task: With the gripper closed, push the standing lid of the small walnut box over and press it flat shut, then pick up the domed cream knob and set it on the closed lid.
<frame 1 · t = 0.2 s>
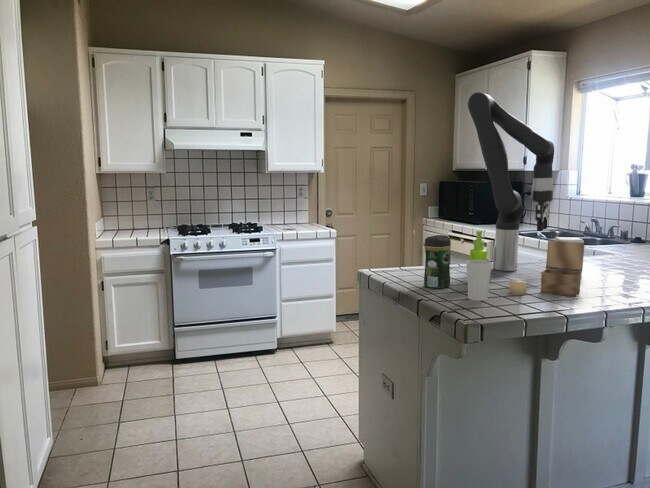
hand: (542, 230, 216), 18 cm above the countertop, tool pointing down, fingers open, 8 cm apart
box: (560, 292, 183), on the countertop
cup: (477, 298, 174), on the countertop
lid: (564, 255, 186), point 12 cm above the countertop, hinge at 98.0°
coffee jar: (436, 287, 192), on the countertop
supplement box: (567, 276, 213), on the countertop
domed cream knob: (517, 293, 182), on the countertop
soap dispenser: (477, 286, 194), on the countertop
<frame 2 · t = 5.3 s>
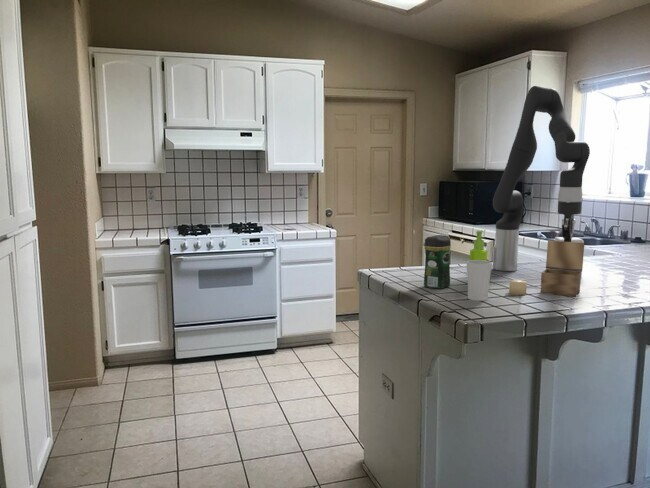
hand: (567, 249, 188), 14 cm above the countertop, tool pointing down, fingers closed
lid: (564, 255, 186), point 12 cm above the countertop, hinge at 95.5°, touching gripper
everything else where it was.
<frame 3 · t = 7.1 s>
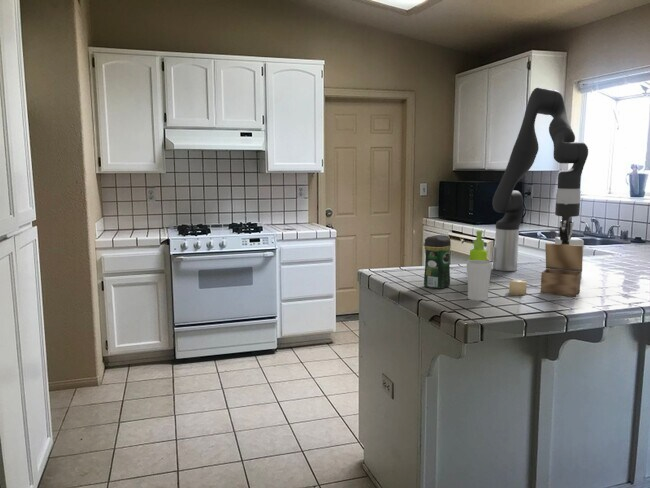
hand: (564, 252, 184), 13 cm above the countertop, tool pointing down, fingers closed
lid: (563, 257, 184), point 12 cm above the countertop, hinge at 68.3°, touching gripper
everything else where it was.
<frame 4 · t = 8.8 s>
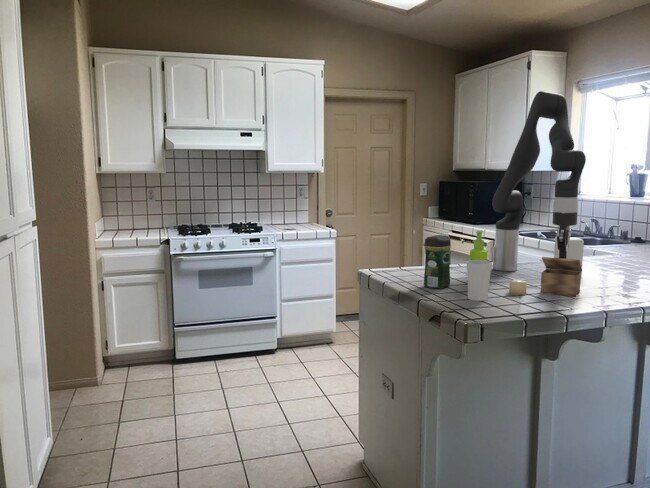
hand: (562, 261, 182), 11 cm above the countertop, tool pointing down, fingers closed
lid: (562, 264, 182), point 10 cm above the countertop, hinge at 27.0°, touching gripper
everything else where it was.
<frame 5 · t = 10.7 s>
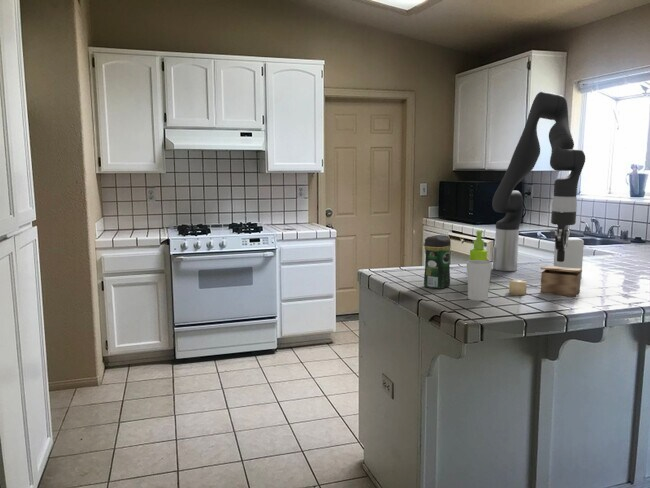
hand: (560, 261, 180), 11 cm above the countertop, tool pointing down, fingers closed
lid: (561, 269, 182), point 8 cm above the countertop, hinge at 5.0°
everything else where it was.
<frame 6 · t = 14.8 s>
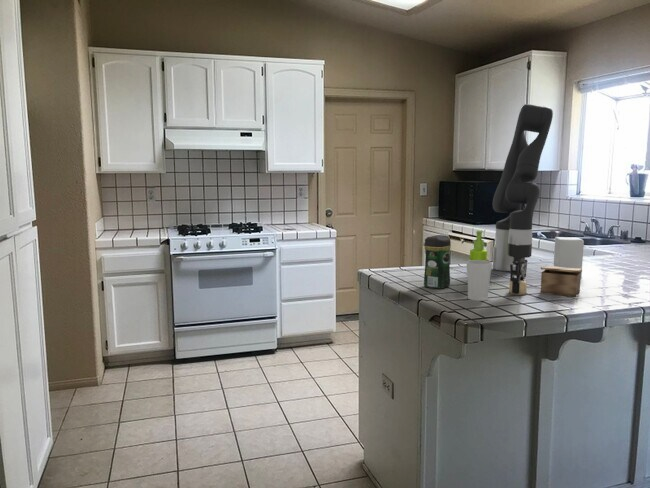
hand: (517, 291, 182), 1 cm above the countertop, tool pointing down, fingers closed on domed cream knob, 5 cm apart
domed cream knob: (517, 293, 182), on the countertop, touching gripper
everything else where it was.
when the fingers open (10 cm above the countertop, at t = 18.9 s): domed cream knob stays where it is, resting on lid.
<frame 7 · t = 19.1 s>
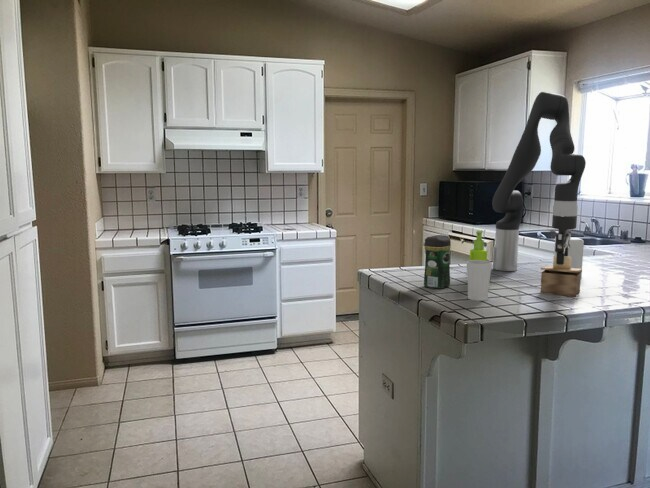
hand: (561, 262, 182), 10 cm above the countertop, tool pointing down, fingers open, 7 cm apart
lid: (561, 269, 182), point 8 cm above the countertop, hinge at 4.4°, touching domed cream knob
domed cream knob: (561, 268, 182), point 8 cm above the countertop, touching lid
everything else where it was.
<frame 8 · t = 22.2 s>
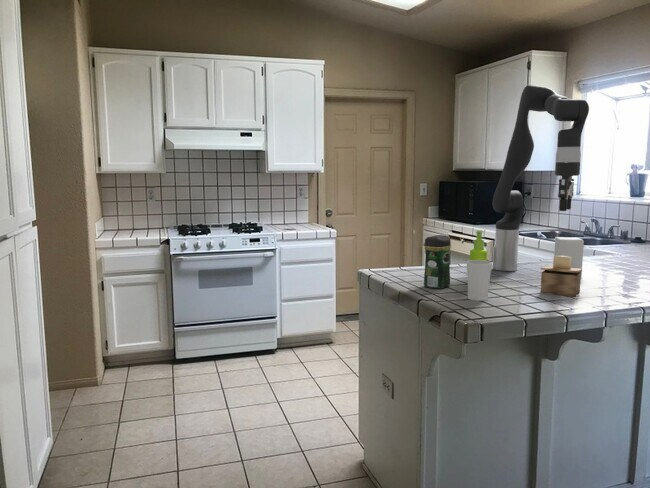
hand: (565, 210, 179), 28 cm above the countertop, tool pointing down, fingers open, 8 cm apart
nothing on the countertop moved.
at the end: lid at +4° (first picture: +98°); domed cream knob inside the target area on the box (0.0 cm from its centre), point 8.3 cm above the box's base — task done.
